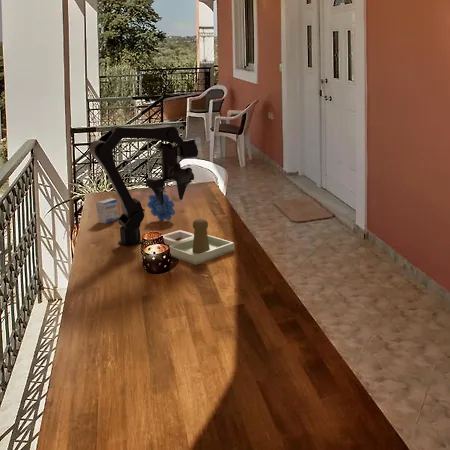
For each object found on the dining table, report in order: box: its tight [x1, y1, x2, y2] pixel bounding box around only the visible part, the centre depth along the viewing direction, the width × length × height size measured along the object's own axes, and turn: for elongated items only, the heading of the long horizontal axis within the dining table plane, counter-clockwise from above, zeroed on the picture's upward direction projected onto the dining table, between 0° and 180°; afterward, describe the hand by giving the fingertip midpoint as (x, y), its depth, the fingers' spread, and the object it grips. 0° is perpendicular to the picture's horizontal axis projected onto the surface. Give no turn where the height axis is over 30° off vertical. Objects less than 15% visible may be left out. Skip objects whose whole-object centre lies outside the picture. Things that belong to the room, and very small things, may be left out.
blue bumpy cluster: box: [147, 193, 176, 222], centre depth 233 cm, size 12×7×12 cm, turn 77°
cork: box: [192, 218, 210, 254], centre depth 196 cm, size 6×6×11 cm
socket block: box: [161, 229, 194, 246], centre depth 208 cm, size 10×10×2 cm
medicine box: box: [95, 197, 120, 225], centre depth 235 cm, size 8×4×9 cm, turn 147°
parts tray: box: [169, 234, 235, 266], centre depth 197 cm, size 18×14×3 cm
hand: (171, 202), depth 212 cm, fingers open, 9 cm apart
